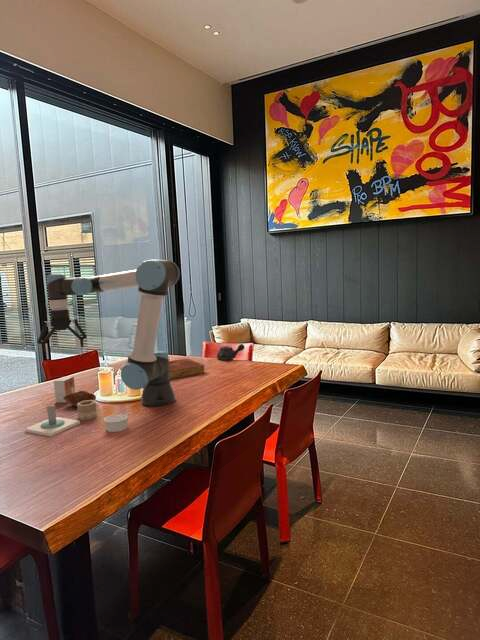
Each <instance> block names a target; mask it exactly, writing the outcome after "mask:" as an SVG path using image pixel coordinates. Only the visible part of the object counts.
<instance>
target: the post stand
mask: <svg viewBox="0 0 480 640" xmlns="http://www.w3.org/2000/svg"><path fill="white" fill-rule="evenodd" d="M46 410H47V419H45V420H43V421H40V422H38V423H36V424H33V425H30V426H28V427H26V428H25V427H24V432H25V433H29V434H30V433H31V434H35V435H41V436H46V437H50V438H51V437H53V436H56V435H57V434H61V433H63V432H65V431H67V430H70V429H71V428H74V427H77V426H78V425H81V420H80V419H73V418H72V419H71V418H66V417H60V416H59V417H58V416H57V414H56V413H57V412H56V406H55V404H51V405H50V404H49V405H47V406H46Z"/></svg>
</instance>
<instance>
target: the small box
mask: <svg viewBox="0 0 480 640" xmlns="http://www.w3.org/2000/svg"><path fill="white" fill-rule="evenodd" d="M53 387H54V397H55V403H62V404H64V403H65V404H67V402H66V401H65V400H64V399H63V398H64V397H65V396H66V395H69V394H73V393H76V388H75V387H76V385H75V377H74V376H62V377H60V378H58V379H55V380H53Z"/></svg>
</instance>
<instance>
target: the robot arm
mask: <svg viewBox="0 0 480 640" xmlns="http://www.w3.org/2000/svg"><path fill="white" fill-rule="evenodd" d="M180 273H181V272H180V268H179V266H178V265H177V264H176V263H175V262H174V261H173V260H170V259H155V258H154V259H153V258H152V259H148V260H143V262H140V264H139V265H138V266H137V267H136V269H133V270H126V271H120V272H114V273H108V274H102V275H95V276H83V277H82V276H77V277H69V278H67V277H66V275H65V274H64V273H56V274H48V275H47V276H46V286H47V293H48V303H49V309H50V313H49V314H50V321H43V328H42V330H41V332H40V334H39V337H38V339H37V344H41V345H42V351H43V352H44V353H45V352H46V360H49V359H50V358H49V348H48V343H47V342H48V341H49V339H50V338H51V337H52V335H53V334H54V333H55V332H56V331H66V330H67V329H68V330H69V332H71V333H72V334H73V335H74V336H75V337H76V338H78V340H77V341H78V353H79V356H82V355H83V353H82V348H84V340H86V339H87V338H88V336H87V334H86V333H85V332H84V330H83V328H81V326H80V324H79V323H78V322H79V321H78V319H77V317H76V318H73V319H70V311H69V309H68V308H69V301H68V296H84V295H89V294H100V293H104V292H109V291H118V290H125V289H126V290H127V289H131V288H138V290H137V292H138V293H139V294H140V295H141V297H140V303H139V310H138V315H137V323H136V329H135V335H134V342H133V347H132V348H133V349H132V351H131V352H129V353H128V354H127V355H128V356H127V362H126V364H124V365H123V366H122V368H121V369H120V378H121V380H122V382H123V384H124V385H125V386H126V387H127V388H129V389H131V390H135V391H138V390H141V389H143V390H142V394H141V398H140V402H141V404H142V405H144V406H146V407H162V406H166V405H170V404H171V403H173V402H175V400H176V395H175V392H174V389H173V386H172V384H171V379H170V371H169V361H170V358H169V354H168V352H167V351H163V350H162V351H161V350H155V349H156V342H157V337H158V336H157V335H158V330H159V324H160V318H161V312H162V311H161V310H162V306H163V305H162V304H163V299H164V298H166V297H167V296H168V292H169V288H170V287H173V286H174V285H176V284H177V282H178V281H179V279H180ZM71 324H73V325H75V326H76V329H78V331H79V333H81V335H82V336H81V335H80V334H79V333H78V332H77V331H75V330H74V329H73V328H72V327H71V326H70V325H71ZM50 325H51V326H52V328H51V329H50V331H49V332H48V333H47V335H46V336H45V337H44V335H45V333H46V330H47V327H49V326H50ZM43 337H44V339H43ZM42 339H43V340H42Z"/></svg>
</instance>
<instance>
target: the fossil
mask: <svg viewBox="0 0 480 640" xmlns="http://www.w3.org/2000/svg"><path fill="white" fill-rule="evenodd" d="M63 399H64V400H65V401H66V403H67V404H69V405H70V406H72V407H74V408H75V407H77V403H79V402H81V401H86V400H94V401H96V399H97V395H95V394H94V393H90V392H88V391H86V390H82V389H80V390H79V391H75V393H73V394H69V395H66V396H65V397H64V398H63Z"/></svg>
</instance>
